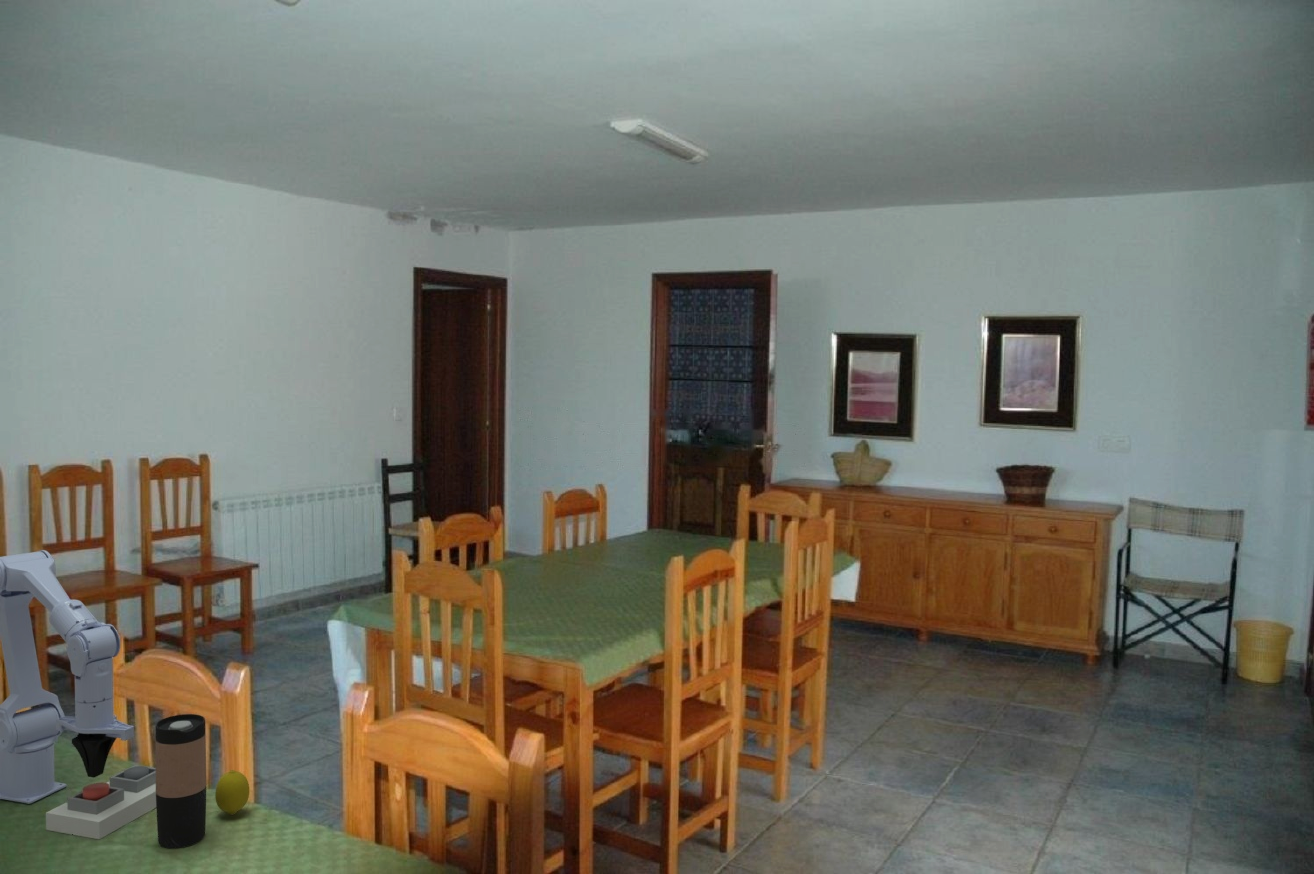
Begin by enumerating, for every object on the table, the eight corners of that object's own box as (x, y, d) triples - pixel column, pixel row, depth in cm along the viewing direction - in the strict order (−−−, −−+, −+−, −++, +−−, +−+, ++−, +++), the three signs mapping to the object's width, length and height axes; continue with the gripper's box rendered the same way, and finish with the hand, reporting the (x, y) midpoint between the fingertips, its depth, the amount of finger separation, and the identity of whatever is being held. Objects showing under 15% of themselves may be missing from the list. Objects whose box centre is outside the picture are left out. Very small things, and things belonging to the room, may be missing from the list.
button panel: (46, 829, 168) (45, 801, 167) (132, 784, 186) (132, 758, 186) (99, 839, 165) (98, 810, 165) (182, 792, 183) (181, 766, 183)
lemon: (254, 807, 178) (253, 764, 177) (242, 821, 172) (242, 776, 172) (222, 807, 178) (222, 763, 177) (210, 821, 172) (209, 776, 172)
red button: (77, 801, 169) (76, 790, 169) (96, 792, 173) (95, 781, 173) (96, 805, 168) (96, 793, 168) (114, 795, 172) (114, 784, 172)
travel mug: (171, 826, 170) (169, 712, 168) (215, 828, 170) (214, 714, 168) (146, 848, 162) (145, 729, 161) (193, 850, 162) (191, 730, 161)
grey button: (118, 784, 178) (118, 773, 178) (135, 775, 182) (135, 764, 182) (137, 787, 177) (136, 776, 177) (153, 778, 181) (153, 767, 181)
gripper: (147, 695, 172) (148, 771, 173) (79, 685, 175) (80, 760, 176) (115, 708, 165) (116, 787, 166) (45, 698, 169) (46, 776, 170)
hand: (95, 774), depth 171 cm, fingers closed
